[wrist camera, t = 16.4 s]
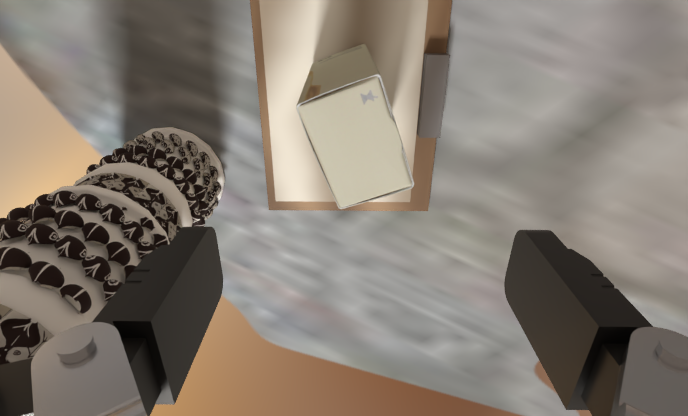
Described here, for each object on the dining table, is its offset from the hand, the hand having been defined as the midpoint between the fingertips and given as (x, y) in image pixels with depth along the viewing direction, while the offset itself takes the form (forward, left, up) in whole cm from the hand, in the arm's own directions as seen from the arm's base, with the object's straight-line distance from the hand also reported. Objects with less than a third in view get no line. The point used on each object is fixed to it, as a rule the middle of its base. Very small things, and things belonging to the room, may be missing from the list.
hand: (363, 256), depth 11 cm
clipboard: (0, 0, -23) cm, 23 cm away
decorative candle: (+15, +7, -23) cm, 29 cm away
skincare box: (0, 0, -22) cm, 22 cm away
